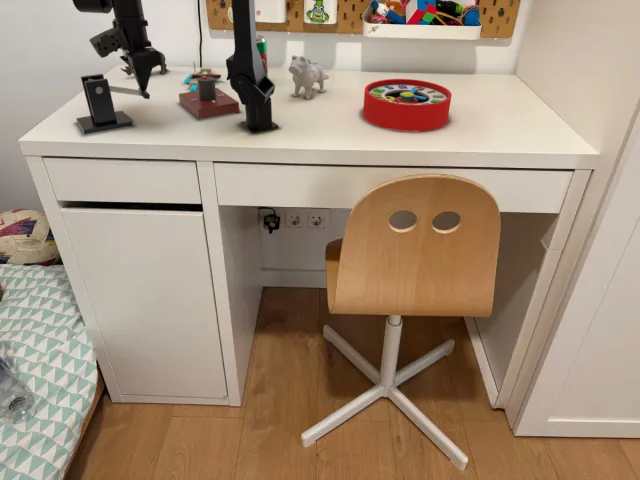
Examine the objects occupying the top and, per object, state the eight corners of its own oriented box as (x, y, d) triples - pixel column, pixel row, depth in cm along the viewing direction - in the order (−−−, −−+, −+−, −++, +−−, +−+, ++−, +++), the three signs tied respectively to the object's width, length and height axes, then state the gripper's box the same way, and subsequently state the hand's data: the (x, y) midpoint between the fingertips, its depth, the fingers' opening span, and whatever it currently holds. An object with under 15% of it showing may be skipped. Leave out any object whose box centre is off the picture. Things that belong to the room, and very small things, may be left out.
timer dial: (219, 98, 117) (217, 78, 114) (203, 101, 115) (200, 80, 112) (212, 94, 120) (210, 74, 117) (196, 96, 118) (194, 76, 115)
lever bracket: (123, 115, 114) (113, 70, 108) (133, 126, 108) (123, 79, 102) (77, 123, 109) (64, 76, 103) (85, 135, 103) (72, 86, 98)
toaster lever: (142, 96, 112) (143, 85, 111) (149, 102, 109) (150, 91, 108) (85, 88, 105) (86, 76, 104) (90, 94, 102) (91, 82, 101)
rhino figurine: (119, 77, 138) (115, 55, 135) (165, 69, 146) (162, 48, 142) (125, 81, 136) (120, 58, 132) (171, 72, 143) (168, 51, 140)
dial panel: (239, 112, 116) (238, 101, 115) (199, 120, 112) (197, 108, 110) (217, 97, 125) (216, 86, 124) (180, 103, 121) (178, 93, 119)
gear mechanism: (227, 72, 145) (195, 71, 145) (225, 53, 142) (193, 52, 142) (213, 93, 128) (177, 92, 128) (211, 72, 125) (174, 71, 125)
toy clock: (349, 95, 110) (385, 74, 125) (348, 120, 114) (383, 97, 128) (434, 111, 102) (463, 87, 116) (430, 138, 105) (458, 111, 120)
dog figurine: (284, 100, 125) (282, 56, 119) (309, 87, 134) (309, 46, 128) (301, 103, 123) (301, 59, 117) (326, 90, 132) (327, 48, 126)
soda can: (269, 80, 139) (267, 35, 132) (266, 85, 135) (264, 39, 128) (252, 79, 139) (249, 34, 132) (248, 84, 135) (245, 38, 128)
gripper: (78, 10, 103) (96, 85, 112) (98, 26, 90) (116, 109, 99) (132, 6, 108) (145, 78, 117) (158, 21, 96) (170, 100, 104)
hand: (143, 90), depth 109 cm, fingers closed, pressing on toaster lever
